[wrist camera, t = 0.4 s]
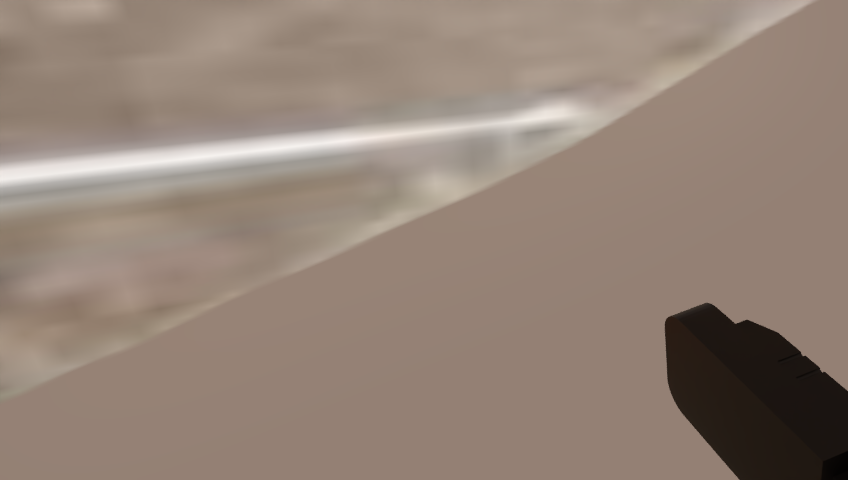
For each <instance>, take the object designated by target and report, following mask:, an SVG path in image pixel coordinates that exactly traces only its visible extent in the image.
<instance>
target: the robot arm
mask: <svg viewBox="0 0 848 480" xmlns="http://www.w3.org/2000/svg"><path fill="white" fill-rule="evenodd" d="M665 337H666V338H665V339H666V358H667V377H668V384H669V388H670V391H671V394H672V396H673V399H674V401H675V402H676V404H677V406H678V408H679V409H680V411H681V412H682V413H683V415H684V416H685V417H686V418H687V419H688V421H689V422H690V423H691V424H692V425H693V426H694V428H695V429H696V430H697V431H698V432H699V433H700V435H701V436H702V437H703V438H704V439H705V440H706V441H707V443H708V444H709V445H710V446H711V447H712V448H713V450H714V451H715V452H716V453H717V454H718V455H719V456H720V458H721V459H722V460H723V461H724V462H725V463H726V465H727V466H728V467H729V468H730V469H731V470H732V471H733V473H734V474H735V475H736V476H737V477H738V479H739V480H848V391H847V390H846V389H845V388H843V387H842V386H841V385H840V384H838V383H837V382H836V381H835V380H834V379H833V378H831V377H830V376H829V375H828V374H827V373H825V372H823V373H822V372H821V370H820V368H819V367H818V366H817V365H816V364H815V363H813V362H812V361H811V360H810V359H809V358H808V357H806V356H802V354H801V352H800V351H799V350H798V349H797V348H796V347H794V346H793V345H792V344H791V343H790V342H788V341H787V340H786V339H785V338H784V337H782V336H781V335H780V334H779V333H777V332H775V331H773V330H770V329H768V328H766V327H763V326H761V325H759V324H756V323H754V322H751V321H749V320H745V321H743V322H740V323H737V324H735V323H734V322H732V321H731V320H730V319H729V318H728V317H727V316H726V315H724V314H723V313H722V312H721V311H720V310H719V309H718V308H717V307H715V306H714V305H712V304H709V303H704V304H702V305H699V306H696V307H694V308H691V309H689V310H686V311H683V312H680V313H678V314H675V315H673V316H670V317H668V318H667V319H666V321H665Z"/></svg>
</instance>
